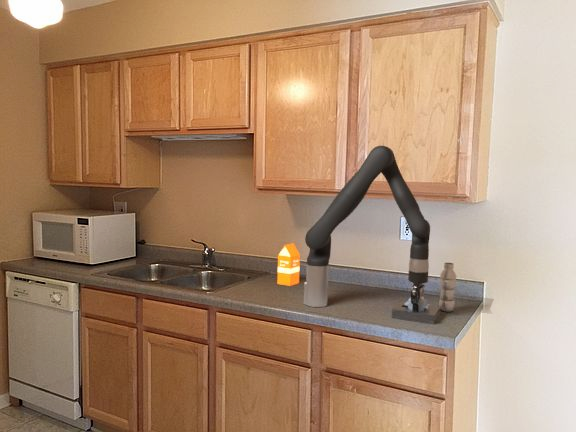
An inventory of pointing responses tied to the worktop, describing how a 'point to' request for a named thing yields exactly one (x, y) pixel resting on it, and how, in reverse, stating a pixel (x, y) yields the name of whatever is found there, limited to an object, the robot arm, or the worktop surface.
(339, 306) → the worktop surface
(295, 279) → the orange juice
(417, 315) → the block with stepped hole
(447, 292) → the plastic bottle
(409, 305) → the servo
